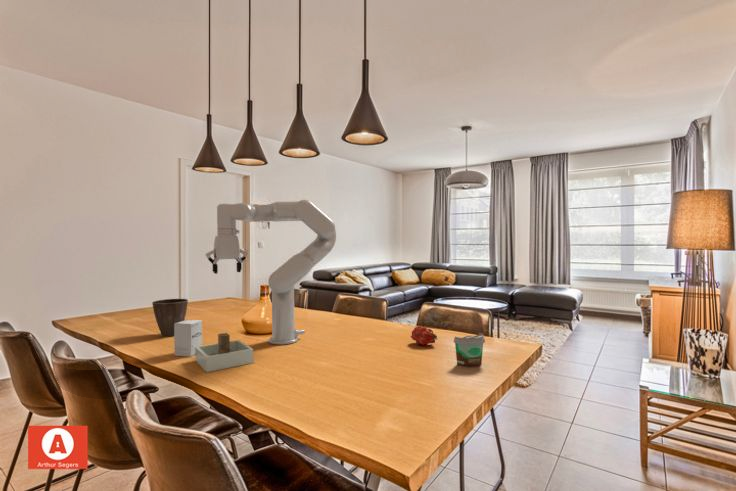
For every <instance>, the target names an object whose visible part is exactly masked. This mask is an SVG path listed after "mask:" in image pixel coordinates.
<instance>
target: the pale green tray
mask: <svg viewBox="0 0 736 491" xmlns="http://www.w3.org/2000/svg"><path fill="white" fill-rule="evenodd" d="M194 356H195V357H194V358H195V360H194V361H195V362H196V363H197V364H198V365H199V366H200V367H201V368H202V369H203V370H204V371H205V372H206V373H209V372H210V373H211V372H215V371H221V370H224V369H229V368H234V367H235V368H236V367H238V366H239V367H240V366H244V365H249V364H253V363H254V348H252V347H251V346H249V345H248V344H246V343H245V342H243V341H241V340H239V339H235V340H230V352H229V353H224V354H218V342H217V343H211V344H206V345H205V344H204V345H202V346H198V347H195V355H194Z"/></svg>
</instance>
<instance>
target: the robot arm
mask: <svg viewBox="0 0 736 491" xmlns="http://www.w3.org/2000/svg"><path fill="white" fill-rule="evenodd" d="M237 221H242V222H247V223H249V222H251V223H252V222H303V224H305V225H306V226H307V227H308V228H309V229H310V230H311V231H313V232H314V234H316V238H315V239H314V240H313V241H311V242H310V244H308V245H307V246H306V247H305V248H304V249H302V250H301V251H300V252H298V253H296V254H293V256H291V257H290V258H289V259H288V260H287V261H285V262H284V263H283V264H281V266H279V267H278V268H277V269H276V270H274V271H273V272H272V273H271V274H270V275H269V277H268V281H267V282H268V283H267V284H268V287H269V288H270V290H271V333H272V334H271V335H272V336H271V337H269V338H268V343H269V344H271V345H290V344H294V343H296V342H298V341H299V337H298V336H299V335H305V333H306V331H305V329H296V328H295V285H296V284H298V283H299V282H300V281H301V280H302V279H303V278H305V277H306V275H308V274H309V273H310V272H311V271H312V269H313V268H315V266H316V265H317V264H319V263H320V262H321V261H322V260H323V259H324V258H325V257H327V256H328V254H330V252H331V251H332V250H333V248H334V247H335V245H336V241H337V231H336V224H335V222H334V221H333V220H332V219H331V218H330V217H328V215H326V214H325V213H324V212H323V211H321V210H320V209H319V208H318V207H317V206H316V205H315V204H313V202H312V201H311V200H308V199H302V200H299V201H275V202H272V203H268V204H248V203H246V202H239V203H219V204H218V205H217V206H216V222H217V223H216V224H217V229H216V230H217V232H216V233H217V234H216V235H214V236H215V237H214V243H213V249H212V250H211V251H208V252H206V253H205V257H206V258H207V261H208V262H210V263H211V264H212V272H213V274H216V275H217V274H219V273H218V270H219V269H218V268H219V267H218V264H217V263H218V262H219V260H235V261H236V273H241V272H242V263H243V262H244V261H245V260H246V257H247V256H248V251H244V250H243V249H240V241H239V237H238V234H240V230H239V229H238V230H237ZM241 254H242V256H241ZM211 255H213V258H212V257H211Z"/></svg>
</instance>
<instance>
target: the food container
mask: <svg viewBox="0 0 736 491" xmlns="http://www.w3.org/2000/svg"><path fill="white" fill-rule="evenodd" d="M453 338H454V339H453V343H454V344H455V345H454V346H455V356H456V365H458V366H461V367H467V368H476V367H480V366H481V365H482V360H483V352H484V351H483V349H484V344H485V343H486V337H485V336H484V334H483V333H482V332H478V334H477V335H466V336H463V337H460V336H459V337H458V336H454V337H453Z"/></svg>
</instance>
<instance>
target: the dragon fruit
mask: <svg viewBox="0 0 736 491" xmlns="http://www.w3.org/2000/svg"><path fill="white" fill-rule="evenodd" d="M410 338H411V340H413V341H415V342H416V345H419V344H420V345H423V346H424V347H431V346H432V345H430V344H435V343H436V340H438V336H437V334H435V333H434V331H433V330H432V329H431V328H428V327H427V326H425V325H423V326H422V325H418V326H415V327H414V328H413V330H412V331H411V336H410Z"/></svg>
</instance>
